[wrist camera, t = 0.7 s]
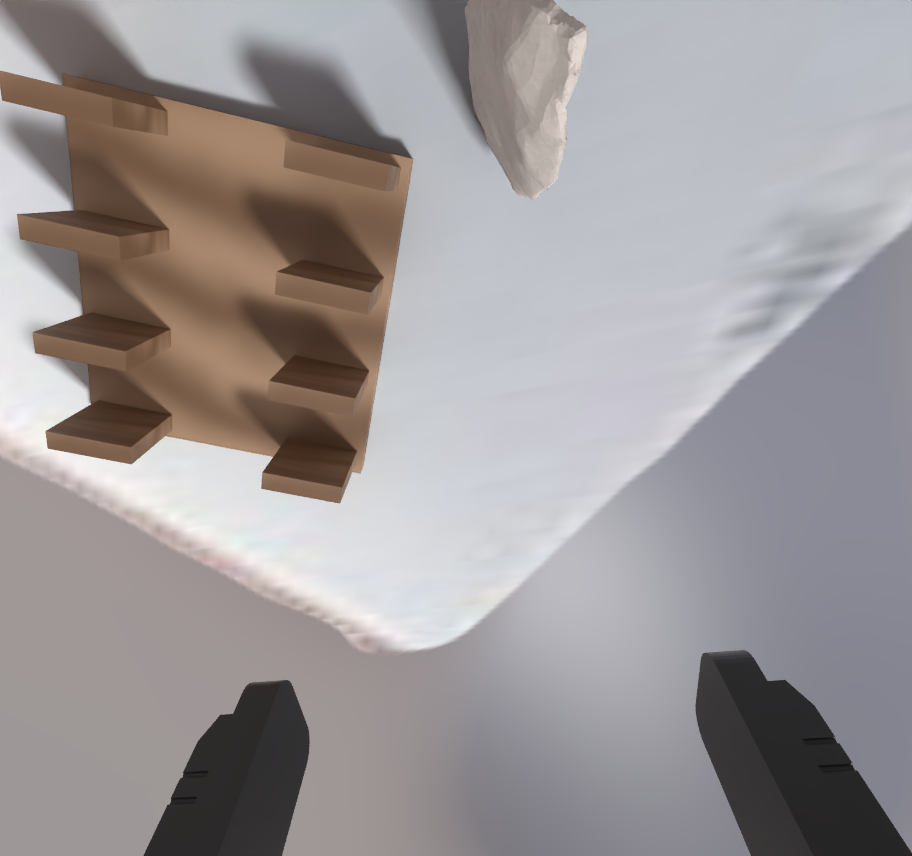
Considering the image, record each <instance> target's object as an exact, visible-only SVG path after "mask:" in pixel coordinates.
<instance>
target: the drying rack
mask: <svg viewBox="0 0 912 856" xmlns="http://www.w3.org/2000/svg"><path fill="white" fill-rule="evenodd" d="M62 75H63V86H62V85H57V84H53V83H49V82H45V81H41V80H37V79H33V78H29V77H24V76H20V75H16V74H12V73H8V72H4V71H0V88H1V96H2V101H7V102H11V103H15V104H19V105H23V106H28V107H32V108H36V109H40V110H44V111H49V112H53V113H57V114H61V115H65V116H66V120H67V132H68V143H69V155H70V166H71V178H72V189H73V200H74V211H60V212H44V213H29V214H17V218H18V225H19V233H20V239H23V240H27V241H32V242H37V243H41V244H46V245H50V246H55V247H59V248H64V249H69V250H73V251H78V257H79V269H80V280H81V292H82V303H83V315H82V316H79V317H76V318H74V319H71V320H68V321H65V322H62V323H59V324H56V325H53V326H50V327H47V328H44V329H41V330H38V331H36V332H33V339H34V347H35V353H38V354H43V355H48V356H53V357H58V358H63V359H68V360H73V361H77V362H82V363H87V364H88V372H89V383H90V394H91V405H89V406H88V407H86V408H84V409H82V410H81V411H79V412H77V413H76V414H74V415H72V416H71V417H69V418H67V419H65V420H64V421H62V422H60V423H59V424H57V425H55V426H54V427H52V428H50V429H49V430H47V431H46V438H47V446H48V449H53V450H59V451H64V452H69V453H74V454H80V455H85V456H90V457H96V458H101V459H106V460H112V461H117V462H122V463H128V464H132V463H134V462H135V461H136V460H137V459H138V458H140V457H141V456H142V455H143V454H144V453H146V452H147V451H148V450H149V449H150V448H151V447H153V446H154V445H155V444H156V443H157V442H159V441H160V440H161V439H162V438H163V437H165V436H169V437H174V438H179V439H184V440H189V441H195V442H200V443H205V444H210V445H215V446H220V447H226V448H231V449H236V450H241V451H246V452H251V453H257V454H262V455H267V456H272V457H273V458H272V460H271V461H270V463H269V464H268V465H267V467H266V468H265V470H264V471H263V473H262V487H261V489H266V490H271V491H277V492H282V493H287V494H292V495H298V496H303V497H308V498H314V499H319V500H324V501H330V502H335V503H340V502H341V500H342V497H343V494H344V492H345V489H346V487H347V484H348V481H349V479H350V476H351V474H352V472H355V473H361V471H362V468H363V464H364V458H365V452H366V446H367V440H368V434H369V428H370V421H371V415H372V409H373V403H374V397H375V391H376V385H377V378H378V372H379V366H380V360H381V354H382V348H383V342H384V336H385V329H386V323H387V317H388V311H389V305H390V299H391V293H392V287H393V280H394V274H395V268H396V262H397V256H398V250H399V244H400V237H401V231H402V225H403V219H404V213H405V207H406V201H407V195H408V188H409V182H410V176H411V170H412V164H413V159H411V158H407V157H403V156H399V155H395V154H391V153H387V152H382V151H378V150H374V149H370V148H366V147H362V146H358V145H354V144H350V143H346V142H341V141H337V140H333V139H329V138H325V137H321V136H317V135H313V134H309V133H305V132H300V131H296V130H292V129H288V128H284V127H280V126H276V125H272V124H268V123H264V122H260V121H255V120H251V119H247V118H243V117H239V116H235V115H231V114H227V113H223V112H219V111H214V110H210V109H206V108H202V107H198V106H194V105H190V104H186V103H182V102H178V101H173V100H169V99H165V98H161V97H157V96H153V95H149V94H145V93H141V92H137V91H132V90H128V89H124V88H120V87H116V86H112V85H108V84H104V83H100V82H96V81H91V80H87V79H83V78H79V77H75V76H71V75H67V74H63V73H62Z"/></svg>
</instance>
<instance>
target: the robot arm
mask: <svg viewBox="0 0 912 856" xmlns="http://www.w3.org/2000/svg"><path fill="white" fill-rule="evenodd" d="M696 716H697V722H698V726H699V730H700V734H701V737H702V740H703V742H704V745H705V747H706V750H707V752H708V754H709V757H710V759H711V762H712V764H713V766H714V769H715V771H716V773H717V776H718V778H719V780H720V783H721V785H722V788H723V790H724V792H725V795H726V797H727V800H728V802H729V804H730V807H731V809H732V812H733V814H734V816H735V819H736V821H737V823H738V826H739V828H740V830H741V833H742V835H743V838H744V840H745V842H746V845H747V847H748V850H749V852H750V854H751V856H912V853H911V851H910V850H909V848H908V847H907V845H906V844H905V842H904V841H903V839H902V838H901V836H900V835H899V833H898V832H897V830H896V828H895V827H894V825H893V824H892V822H891V821H890V819H889V818H888V816H887V815H886V814H885V812H884V810H883V809H882V807H881V806H880V804H879V803H878V801H877V800H876V798H875V797H874V795H873V794H872V792H871V791H870V789H869V788H868V786H867V785H866V783H865V781H864V780H863V778H862V777H861V775H860V774H859V772H858V771H855V769H854V768H853V763H852V762H851V760H850V759H849V757H848V756H847V754H846V753H845V751H844V750H843V748H842V747H841V745H840V744H838V743H837V742H836V740H835V736H834V735H833V733H832V732H831V730H830V729H829V727H828V726H827V724H826V722H825V721H824V719H823V718H822V716H821V715H820V713H819V712H818V710H817V709H816V707H815V706H814V705H813V704H812V703H811V702H810V701H808V700H807V699H806V698H805V697H804V696H803V695H802V694H800V693H799V692H798V691H797V690H796V689H795V688H794V687H792V686H791V685H790V684H789V683H788V682H787V681H786V680H779V681H767V680H766V678H765V676H764V675H763V673H762V671H761V670H760V668H759V666H758V664H757V663H756V661H755V660H754V658H753V657H752V656H751V654H750V653H749V652H747V651H745V650H740V651H725V652H712V653H711V652H710V653H703V655H702V657H701V664H700V672H699V681H698V689H697V698H696ZM308 755H309V730H308V726H307V724H306V721H305V718H304V716H303V713H302V710H301V708H300V705H299V702H298V700H297V697H296V694H295V692H294V689H293V686H292V684H291V682H290V681H288V680H281V681H267V682H252V683H250V684H248V685H247V686H246V688H245V689H244V691H243V693H242V695H241V697H240V700H239V702H238V704H237V706H236V709H235V711H234V713H233V714H227V715H220V716H219V717H218V718H217V720H216V721H215V722H214V723H213V724H212V726H211V727H210V728H209V729H208V730H207V731H206V733H205V734H204V735H203V736H202V737H201V738H200V740H199V741H198V742H197V744H196V747H195V749H194V751H193V753H192V755H191V757H190V759H189V761H188V763H187V766H186V768H185V770H184V772H183V778H181V779H180V780H179V782H178V784H177V786H176V788H175V791H174V793H173V795H172V797H171V803H170V805H167V807H166V810H165V812H164V814H163V816H162V818H161V820H160V822H159V824H158V826H157V828H156V830H155V833H154V835H153V837H152V839H151V841H150V843H149V846H148V847H147V849H146V852H145V854H144V856H282V853H283V849H284V846H285V842H286V838H287V835H288V831H289V827H290V824H291V820H292V816H293V813H294V809H295V805H296V802H297V798H298V794H299V790H300V787H301V783H302V780H303V776H304V772H305V768H306V765H307V761H308Z"/></svg>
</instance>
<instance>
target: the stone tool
mask: <svg viewBox="0 0 912 856" xmlns="http://www.w3.org/2000/svg"><path fill="white" fill-rule="evenodd" d="M464 11H465V17H466V23H467V32H468V41H469V80H470V84H471V91H472V100H473V105H474V109H475V113H476V115H477V117H478V120H479V121H480V123H481V125H482V127H483V129H484V131H485V134H486V140H487V144H488V145H489V147H490V148H491V150H492V152H493V153H494V155H495V157H496V158H497V160H498V162H499V164H500V165H501V167H502V168H503V170H504V172H505V174H506V176H507V178H508V179H509V181H510V183H511V185H512V188H513V190H514V191H515V192H516V193H517V194H518V195H519V196H520V197H521V196H524V197H529V198H530V199H532V200H534V199H536V198H537V197H538V195H540V194H541V192H542V191H543V190H545V189H548V188H549V187H550V186H552V184H553V183H554V182H555V181H556V179H557V178H558V172H559V169H560V165H561V161H562V159H563V154H564V150H565V145H566V141H567V138H566V120H567V112H566V105H567V103H568V102H569V100H570V97H571V94H572V92H573V90H574V87H575V85H576V83H577V79H578V76H579V74H580V70H581V66H582V62H583V58H584V55H585V51H586V47H587V40H588V32H587V26H585V25H584V24H583V23H581V22H580V21H577V20H576V19H575V18H574V17H573V16H569V15H568V14H567V13H566V12H564V11H563V10H562V9H561V8H560V7H559V6H558V5H557V4H556V3H555V2H554V1H553V0H468V2H467V5H466V7H465V9H464Z"/></svg>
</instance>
